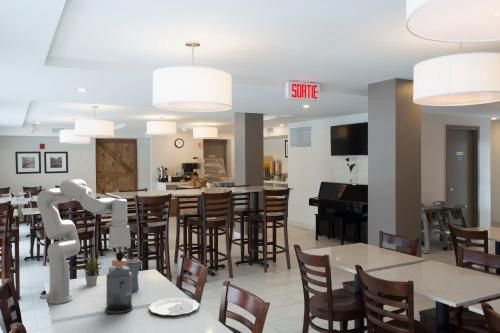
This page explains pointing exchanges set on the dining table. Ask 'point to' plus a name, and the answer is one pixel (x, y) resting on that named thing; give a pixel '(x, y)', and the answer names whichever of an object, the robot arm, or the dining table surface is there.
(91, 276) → the house plant
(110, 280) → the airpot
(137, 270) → the moka pot
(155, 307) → the plate
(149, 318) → the dining table surface
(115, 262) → the pink rounded piece
